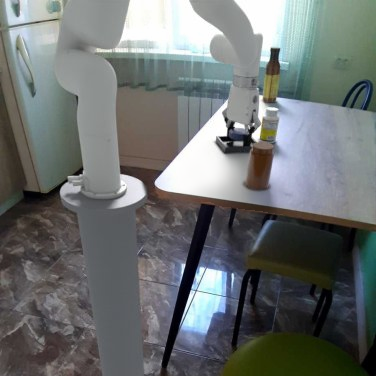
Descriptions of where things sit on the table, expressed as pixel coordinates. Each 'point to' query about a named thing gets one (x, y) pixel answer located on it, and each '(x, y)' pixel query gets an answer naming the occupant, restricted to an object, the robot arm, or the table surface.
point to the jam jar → (259, 165)
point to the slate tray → (233, 145)
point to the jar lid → (237, 133)
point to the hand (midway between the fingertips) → (238, 142)
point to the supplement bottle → (269, 125)
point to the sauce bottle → (272, 76)
